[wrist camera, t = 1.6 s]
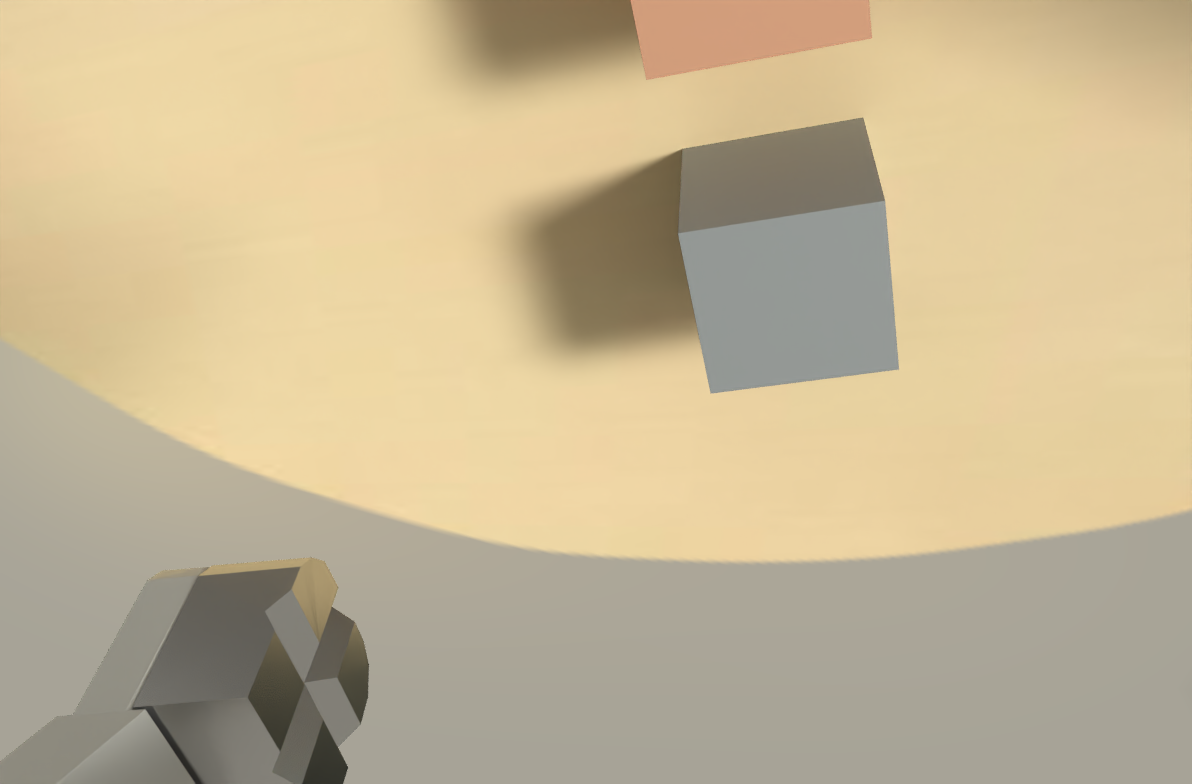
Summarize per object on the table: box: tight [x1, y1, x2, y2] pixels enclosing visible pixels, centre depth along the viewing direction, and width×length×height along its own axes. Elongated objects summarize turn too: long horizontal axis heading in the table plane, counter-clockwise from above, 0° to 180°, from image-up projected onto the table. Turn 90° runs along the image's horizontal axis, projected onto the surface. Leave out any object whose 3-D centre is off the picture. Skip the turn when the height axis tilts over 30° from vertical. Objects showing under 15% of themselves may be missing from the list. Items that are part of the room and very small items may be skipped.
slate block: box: [678, 118, 899, 393], centre depth 31 cm, size 5×5×5 cm
